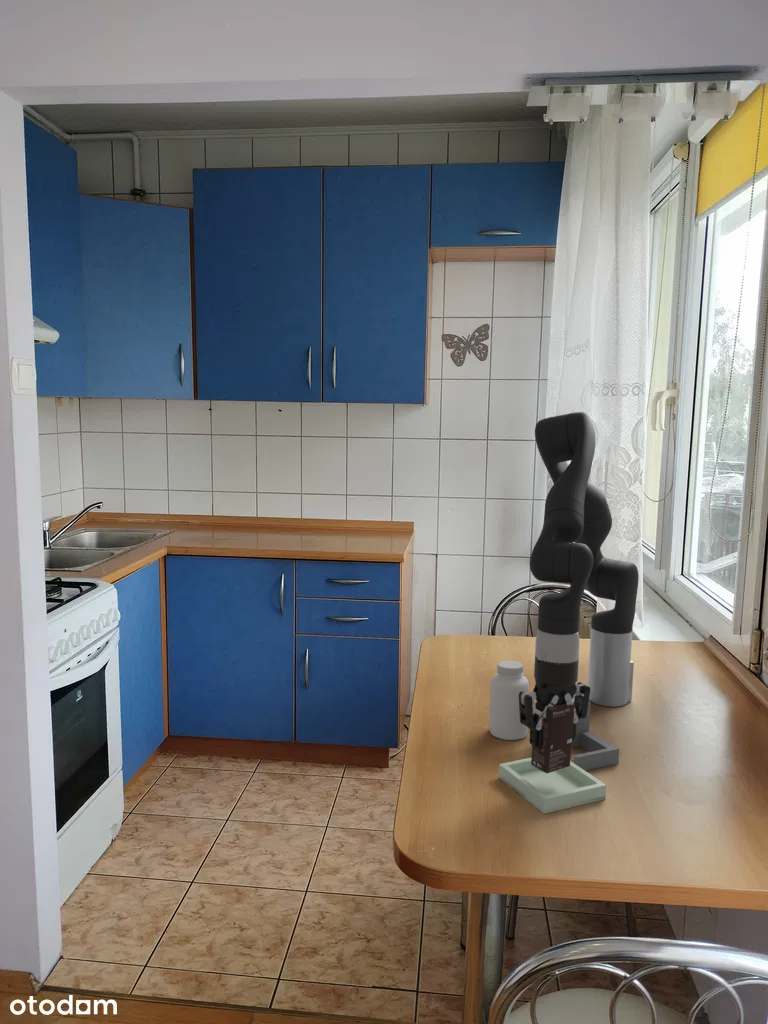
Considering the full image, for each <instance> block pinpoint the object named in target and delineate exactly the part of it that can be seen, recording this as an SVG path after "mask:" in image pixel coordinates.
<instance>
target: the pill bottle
mask: <svg viewBox="0 0 768 1024" xmlns="http://www.w3.org/2000/svg"><path fill="white" fill-rule="evenodd" d="M496 665H497V667H496V672H497V673H496V674H494V676H493V677H491V680H490V692H489V693H490V694H489V732H490V734H491V735H492V736H493V737H494V738H497V739H499V740H500V739H501V740H503V741H504V740H505V741H506V740H507V741H516V740H522V739H524V738H525V737H526V736H527V735H528V730H529V728H528V727H527V726H525V725H524V724H522V723H520V712H519V693H520V692H524V693H528V692H530V682H529V680H528V678H527V677H526V676H524V663H522V662H519V661H516V660H502V661H498V663H497V664H496Z"/></svg>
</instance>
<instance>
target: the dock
mask: <svg viewBox="0 0 768 1024" xmlns="http://www.w3.org/2000/svg"><path fill="white" fill-rule="evenodd" d="M574 700H575V695H574V696H573V698H572V702H573V703H574ZM591 703H592V702H591V701H589V703H588V710H587V716H586V718H584V719H583V718H581V719H579V720H578V722H577V723H576V737H575V739H574V742H573V743H572V747H571V749H573V748H574V749H575V748H579V747H581V748H582V749H584V750H585V751H587V752H584V753H578V754H575V755H573V760H572V761H573V763H574V764H576V765H577V766H579V767H580V768H582V769H583V770H585V771H586V772H587V771H591V770H595V769H600V768H605V767H608V766H614V765H617V764H618V765H619V760H620V759H619V757H620V748H619V747H618V746H615V744H612V743H610V742H608V740H606V739H603V738H602V737H600V736H599V735H597V734H595V733H593V732H592V731H590V723H591V721H590V719H591ZM580 709H581V706H580Z"/></svg>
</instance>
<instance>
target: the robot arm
mask: <svg viewBox="0 0 768 1024" xmlns="http://www.w3.org/2000/svg"><path fill="white" fill-rule="evenodd" d="M534 437H535V443H536V446H537V449H538V453H539V455H540V458H541V459H542V462H543V463H544V467H545V468H546V470H547V472H548V474H549V476H550V479H551V481H552V483H553V485H552V486H551V487H550V490H549V491H548V493H547V495H546V498H545V502H544V513H543V525H542V529H541V531H540V535H539V536H538V538H537V541H536V542H535V544H534V546H533V549H532V552H531V554H530V557H529V569H530V572H531V574H532V576H533V577H534V578H535V579H536V580H537V581H539V582H546V583H561V584H562V583H563V584H570V586H569V587H567V589H566V590H564V591H562V592H556V593H549V594H545V595H543V596H542V597H541V598H540V599H539V603H538V612H537V613H538V615H537V616H538V617H537V632H536V636H535V645H534V646H535V651H534V670H533V672H534V673H533V678H534V680H535V681H534V682H535V684H534V688H533V690H532V691H529V692H528V693H524V692H520V693H519V712H520V723H522V724H524V725H525V726H527V727H528V730H529V740H528V742H529V744H530V745H531V747H534V748H535V749H537V750H539V749H541V748H542V731H543V730H542V729H541V728H542V726H543V724H544V722H545V720H546V719H547V718H548V708H550V707H551V708H552V707H554V705H561V704H566V705H574V704H575V707H574V723H573V734H572V743H573V742H574V739H575V737H576V723H577V722H578V720H579V719H581V718H583V719H584V718H586V716H587V710H588V703H589V702H591V703H593V704H595V705H600V706H603V707H613V708H615V707H623V706H625V705H627V704H628V703H629V702H632V701H633V700H632V697H633V683H634V668H635V667H634V665H635V663H634V661H633V660H632V659H631V658H632V645H633V644H632V643H633V642H632V641H633V640H632V639H633V627H634V621H635V615H636V606H637V596H638V589H639V581H640V580H639V577H640V576H639V570H638V566H637V565H636V564H635V563H633V562H630V561H625V560H619V559H614V558H613V559H612V558H606V557H605V556H604V555H603V553H602V551H601V547H602V545H603V543H604V542H605V540H607V538H608V535H609V534H610V532H611V529H612V526H613V517H612V514H611V510H610V506H609V503H608V500H607V498H606V495H605V494H604V493H603V492H602V490H600V488H598V486H596V485H595V484H594V483H592V482H591V481H589V479H590V474H591V471H592V470H591V469H592V467H593V460H594V457H595V450H596V431H595V428H594V424H593V420H592V418H591V416H590V415H589V414H588V413H587V412H584V411H576V412H570V413H564V414H561V415H555V416H549V417H546V418H543V419H540V420H538V422H537V423H536V425H535V427H534ZM569 461H570V462H569ZM568 462H569V464H568ZM586 588H587V591H588V592H589V593H590V594H591V595H592V596H593V597H596V598H598V599H599V598H600V599H605V600H609V601H610V600H611V601H615V603H614V607H613V608H612V609H609V610H602V611H598V612H595V613H594V614H593V615H592V617H591V620H590V622H591V623H590V636H589V637H590V638H589V640H590V641H589V657H588V659H589V660H588V674H587V675H588V676H587V677H588V678H587V684H585V683H584V682H581V681H578V678H579V660H580V633H579V629H580V614H581V606H582V599H583V596H584V593H585V590H586ZM573 696H575V700H574V704H573V702H572V698H573ZM536 702H538V703H539V704H540V705H542V706H543V707H545V709H544V711H543V712H541V711H540V710H538V709H537V708H536ZM580 706H581V709H580ZM537 715H539V718H538V720H537Z"/></svg>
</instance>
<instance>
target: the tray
mask: <svg viewBox="0 0 768 1024" xmlns="http://www.w3.org/2000/svg"><path fill="white" fill-rule="evenodd" d="M531 760H532V757H527V758H524V759H519V760H518V759H517V760H513V761H508V762H503V763H499V765H498V778H499V779H500V780H501V781H503V782H504V783H505V784H506V785H508V786H509V787H510V788H511V789H512V790H514V791H515V792H516V793H517V794H519V796H521V797H522V798H524V799H525V801H528V803H530V804H531V805H532V806H533V807H535V808H536V809H537V810H538V811H540V812H541V813H543V815H545V814H550V813H552V812H553V813H554V812H557V811H562V810H566V809H571V808H573V807H578V806H582V805H587V804H590V803H595V802H598V801H599V802H600V801H602V800H606V795H607V794H606V793H607V784H606V783H604V782H602V781H601V780H600V779H598V778H596V777H595V776H594V775H592V774H591V773H589V772H587V771H585V770H583V769H582V768H580V767H579V766H577V765H576V764H574V763H573V762H572V761H571V760H570V766H569V767H565V768H562V769H559V770H556V771H553V772H550V773H548V774H547V773H544V772H543V771H540V770H538V769H537V768H535V767H533V766H532V765H531Z"/></svg>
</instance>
